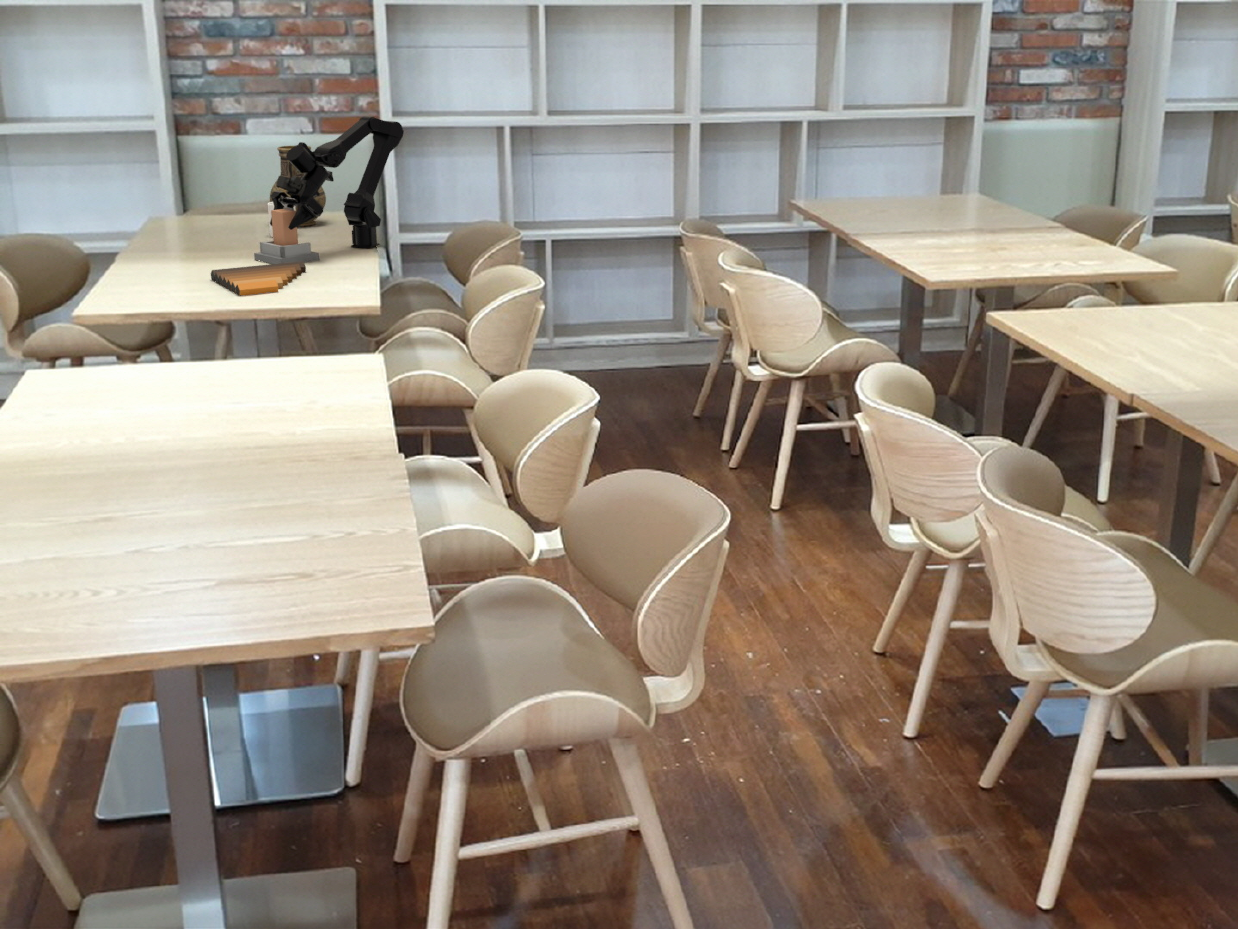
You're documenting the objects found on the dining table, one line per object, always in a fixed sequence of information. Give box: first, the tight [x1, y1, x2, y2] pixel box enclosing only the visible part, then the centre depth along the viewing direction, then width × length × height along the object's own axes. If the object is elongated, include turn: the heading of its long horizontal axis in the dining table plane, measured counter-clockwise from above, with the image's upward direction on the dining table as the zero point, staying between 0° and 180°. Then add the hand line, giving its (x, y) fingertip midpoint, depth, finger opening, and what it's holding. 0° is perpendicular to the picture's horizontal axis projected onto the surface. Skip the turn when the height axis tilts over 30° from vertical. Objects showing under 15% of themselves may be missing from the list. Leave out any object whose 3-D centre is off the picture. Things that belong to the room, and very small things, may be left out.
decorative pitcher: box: [269, 145, 327, 227], centre depth 459 cm, size 22×18×25 cm
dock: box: [253, 240, 320, 264], centre depth 403 cm, size 13×13×5 cm
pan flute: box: [210, 261, 307, 296], centre depth 373 cm, size 25×3×25 cm
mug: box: [267, 201, 296, 238], centre depth 439 cm, size 12×8×10 cm
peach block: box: [271, 207, 299, 246], centre depth 401 cm, size 4×6×13 cm
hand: (280, 226), depth 400 cm, fingers open, 9 cm apart
